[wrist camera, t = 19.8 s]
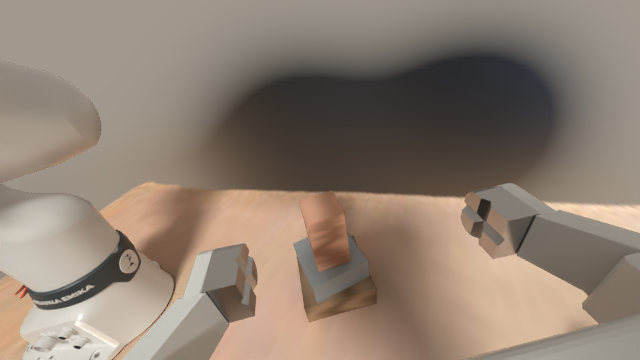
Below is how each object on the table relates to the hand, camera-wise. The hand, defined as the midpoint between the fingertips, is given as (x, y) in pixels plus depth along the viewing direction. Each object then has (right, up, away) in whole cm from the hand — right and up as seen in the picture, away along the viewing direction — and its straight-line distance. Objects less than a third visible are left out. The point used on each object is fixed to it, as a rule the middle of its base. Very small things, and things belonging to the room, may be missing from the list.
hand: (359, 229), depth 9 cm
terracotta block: (0, -10, +28) cm, 30 cm away
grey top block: (+1, -13, +31) cm, 34 cm away
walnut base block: (+1, -17, +34) cm, 37 cm away
